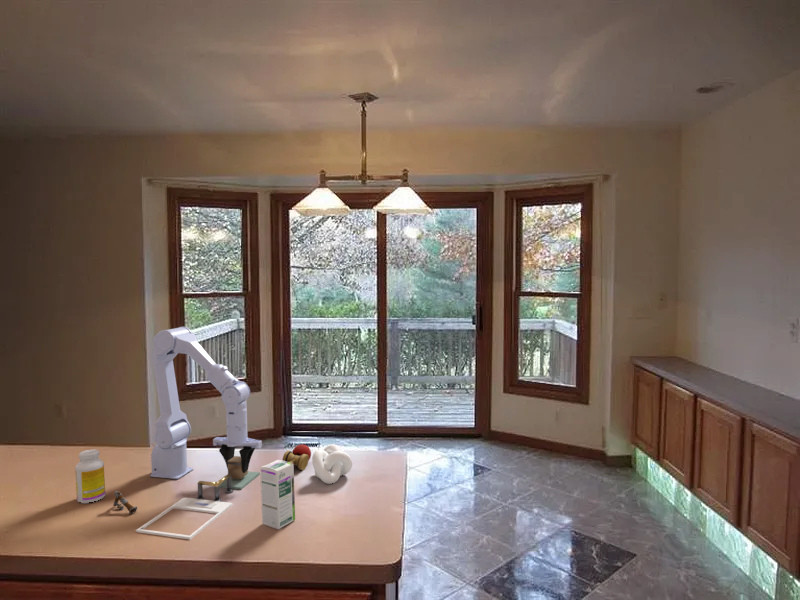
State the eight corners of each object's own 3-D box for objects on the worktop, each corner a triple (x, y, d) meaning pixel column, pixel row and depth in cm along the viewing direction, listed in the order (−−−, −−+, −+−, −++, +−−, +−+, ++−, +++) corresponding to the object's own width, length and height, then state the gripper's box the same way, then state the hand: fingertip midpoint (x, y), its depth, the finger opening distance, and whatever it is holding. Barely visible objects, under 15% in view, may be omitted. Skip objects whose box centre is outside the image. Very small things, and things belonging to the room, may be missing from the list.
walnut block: (227, 477, 154) (227, 461, 153) (235, 472, 157) (234, 456, 157) (240, 479, 153) (240, 462, 152) (247, 473, 157) (247, 457, 156)
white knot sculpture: (353, 470, 163) (353, 441, 162) (351, 486, 151) (350, 455, 150) (316, 470, 163) (316, 442, 162) (311, 487, 151) (310, 456, 150)
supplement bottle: (110, 496, 145) (109, 450, 144) (87, 506, 139) (85, 458, 138) (94, 491, 148) (92, 446, 147) (71, 501, 142) (68, 454, 141)
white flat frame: (232, 502, 140) (190, 536, 122) (233, 506, 140) (190, 541, 122) (184, 496, 143) (136, 529, 126) (184, 500, 143) (136, 533, 126)
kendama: (293, 488, 153) (319, 457, 170) (287, 467, 152) (314, 439, 169) (269, 489, 156) (297, 459, 173) (264, 469, 155) (292, 441, 172)
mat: (215, 487, 151) (215, 484, 151) (235, 472, 162) (235, 470, 161) (241, 489, 149) (241, 487, 149) (259, 474, 160) (259, 472, 160)
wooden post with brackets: (115, 501, 140) (119, 487, 139) (133, 520, 137) (137, 506, 135) (109, 504, 138) (112, 490, 137) (127, 523, 135) (131, 509, 134)
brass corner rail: (194, 500, 142) (194, 481, 142) (211, 488, 150) (211, 469, 150) (218, 503, 141) (218, 483, 140) (234, 490, 148) (233, 472, 148)
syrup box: (278, 530, 126) (277, 470, 125) (261, 523, 130) (259, 465, 128) (295, 520, 131) (294, 463, 130) (278, 514, 134) (277, 458, 133)
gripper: (206, 427, 152) (207, 473, 153) (253, 431, 149) (254, 478, 150) (220, 420, 159) (221, 464, 160) (264, 423, 155) (265, 468, 156)
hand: (238, 470), depth 155 cm, fingers closed on walnut block, 4 cm apart
